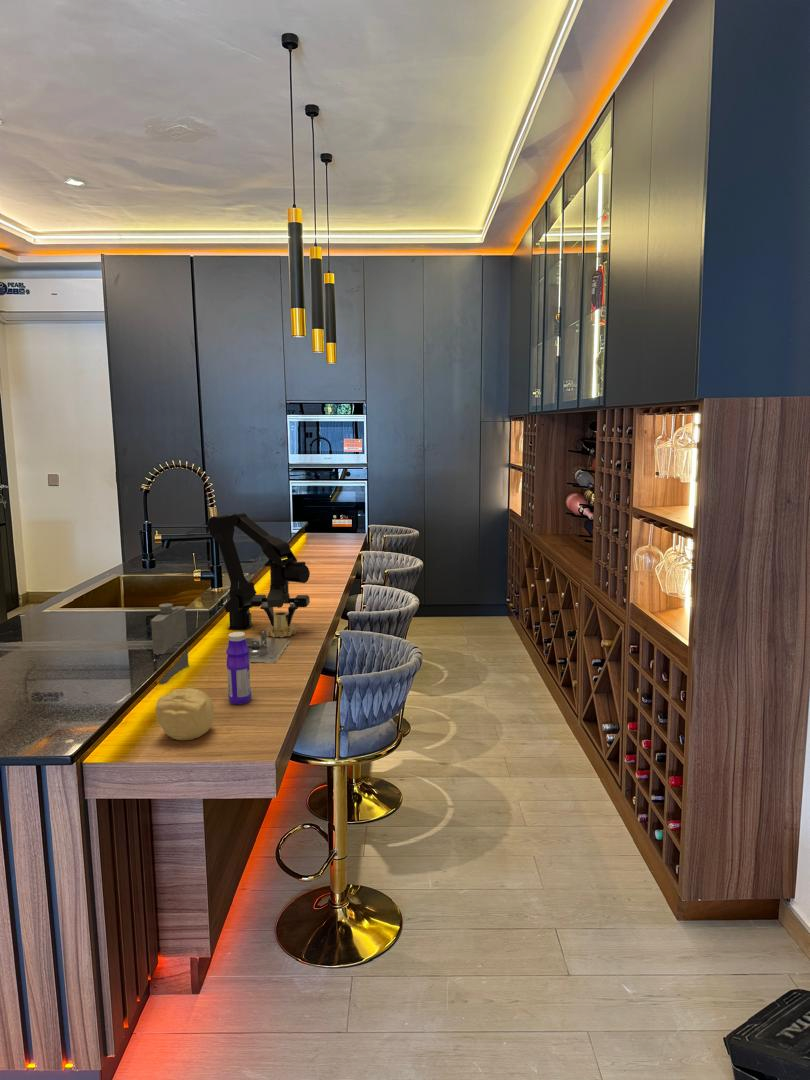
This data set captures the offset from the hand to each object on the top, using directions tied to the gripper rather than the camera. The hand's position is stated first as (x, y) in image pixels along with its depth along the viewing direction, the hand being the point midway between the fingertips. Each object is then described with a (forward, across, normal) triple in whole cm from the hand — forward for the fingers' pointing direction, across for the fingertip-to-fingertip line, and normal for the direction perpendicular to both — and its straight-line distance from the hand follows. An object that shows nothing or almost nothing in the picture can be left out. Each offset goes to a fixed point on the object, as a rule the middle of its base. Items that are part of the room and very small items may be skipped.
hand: (281, 626), depth 234 cm
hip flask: (+3, -22, -39) cm, 45 cm away
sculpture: (+3, -3, -77) cm, 77 cm away
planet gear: (+2, 0, 0) cm, 2 cm away
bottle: (+3, +3, -57) cm, 57 cm away
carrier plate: (+3, -2, -19) cm, 19 cm away
